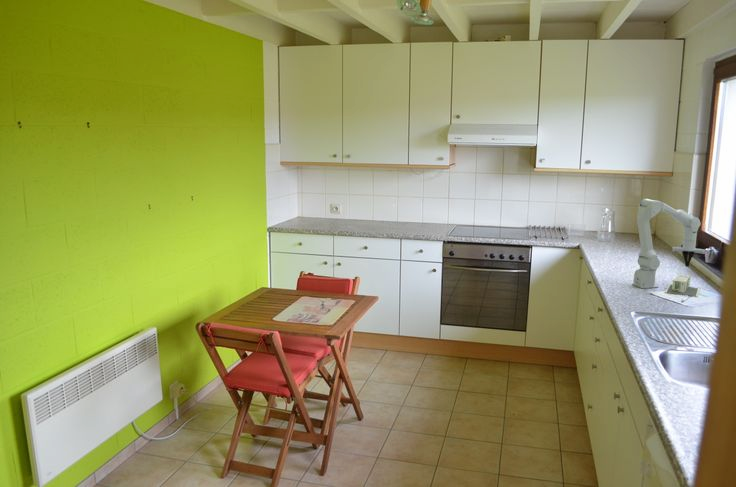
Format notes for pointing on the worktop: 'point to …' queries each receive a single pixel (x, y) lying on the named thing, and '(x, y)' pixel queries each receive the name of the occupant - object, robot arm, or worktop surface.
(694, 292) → the mat
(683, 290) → the syrup box
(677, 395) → the worktop surface
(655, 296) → the worktop surface
